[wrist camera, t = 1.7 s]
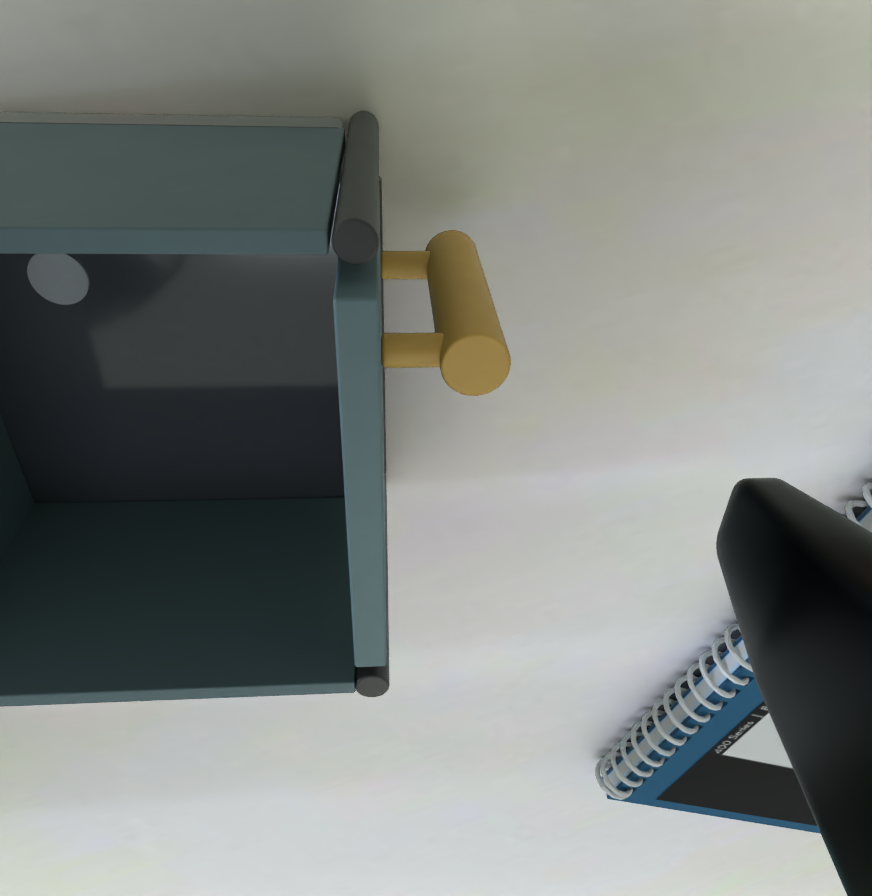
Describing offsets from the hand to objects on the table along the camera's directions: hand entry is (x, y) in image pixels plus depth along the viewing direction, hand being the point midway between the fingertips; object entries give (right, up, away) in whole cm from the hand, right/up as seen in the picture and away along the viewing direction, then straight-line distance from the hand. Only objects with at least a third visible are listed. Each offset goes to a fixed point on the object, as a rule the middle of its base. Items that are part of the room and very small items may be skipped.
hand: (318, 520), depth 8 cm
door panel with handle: (+1, +3, +11) cm, 12 cm away
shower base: (-6, +4, +12) cm, 14 cm away
